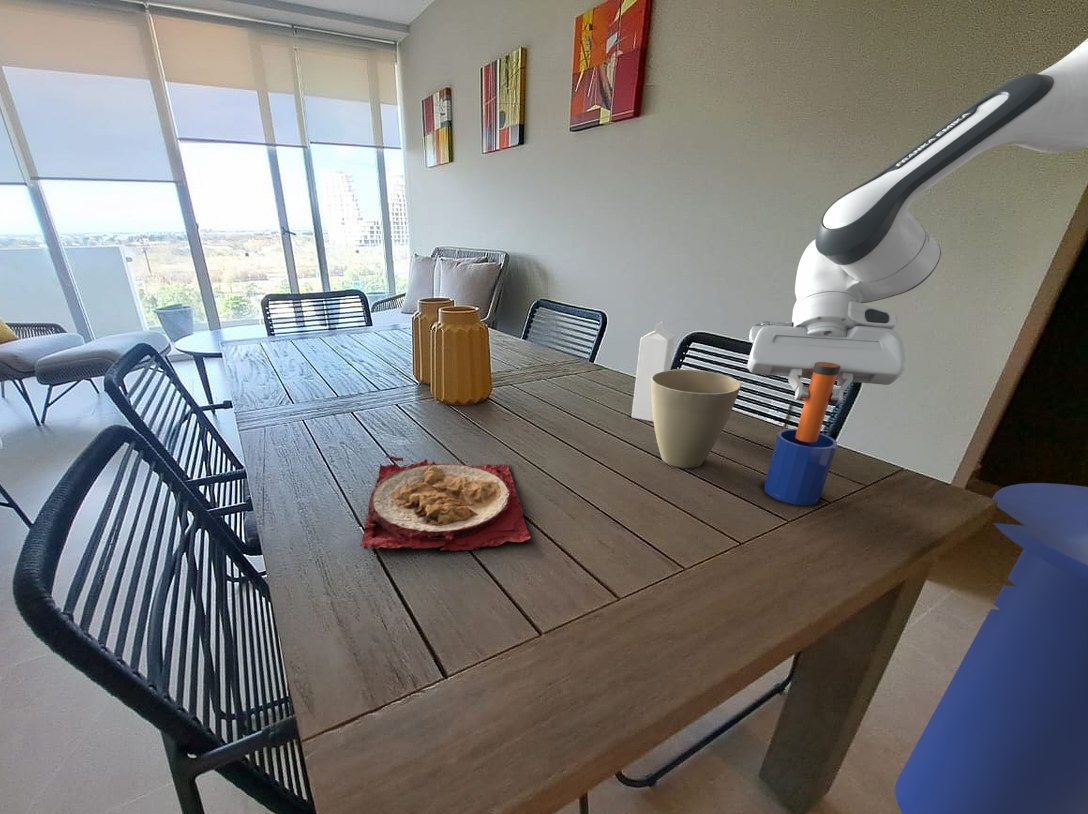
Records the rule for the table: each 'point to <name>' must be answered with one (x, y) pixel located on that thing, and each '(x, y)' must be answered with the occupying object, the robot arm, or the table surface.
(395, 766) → the table surface
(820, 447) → the cup
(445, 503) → the plate with food
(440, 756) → the table surface
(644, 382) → the milk
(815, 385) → the orange tube bottle
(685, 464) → the plant pot
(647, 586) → the table surface
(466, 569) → the table surface
